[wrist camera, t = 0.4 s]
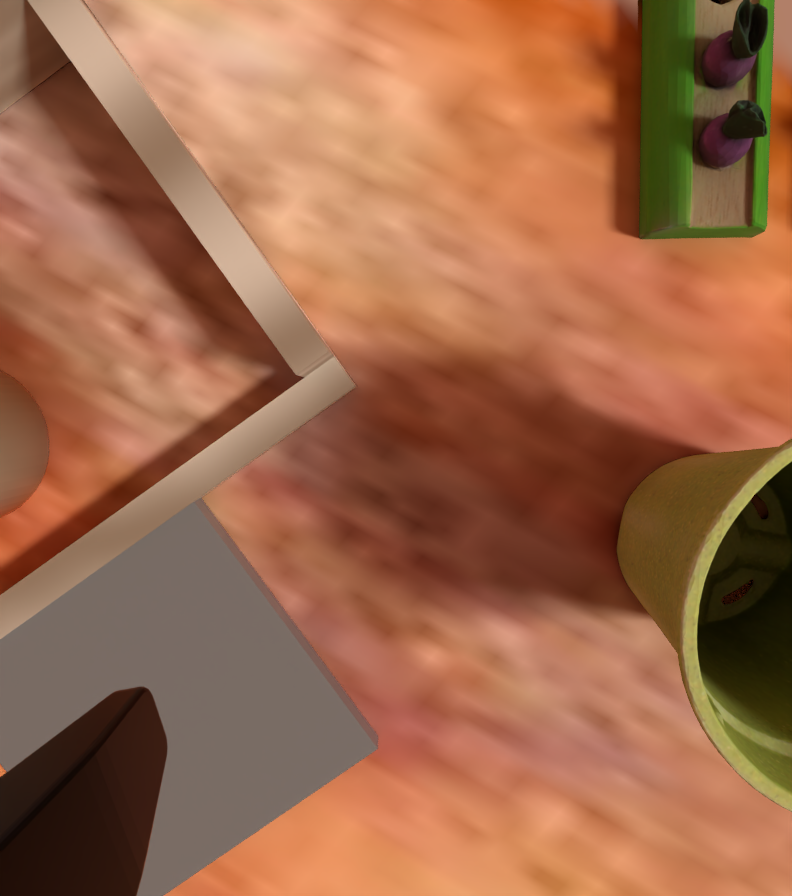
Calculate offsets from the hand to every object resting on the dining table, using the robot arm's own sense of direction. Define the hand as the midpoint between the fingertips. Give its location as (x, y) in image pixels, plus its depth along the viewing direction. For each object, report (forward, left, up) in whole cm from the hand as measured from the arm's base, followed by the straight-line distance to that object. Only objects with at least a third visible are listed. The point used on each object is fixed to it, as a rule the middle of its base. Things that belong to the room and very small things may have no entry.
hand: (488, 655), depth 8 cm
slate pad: (-8, +9, -13) cm, 18 cm away
